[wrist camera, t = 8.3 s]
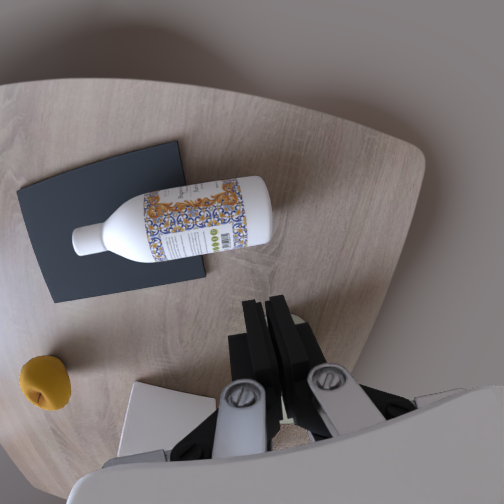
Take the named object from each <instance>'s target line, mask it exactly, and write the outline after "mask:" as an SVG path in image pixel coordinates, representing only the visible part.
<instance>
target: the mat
mask: <svg viewBox="0 0 504 504" xmlns="http://www.w3.org/2000/svg"><path fill="white" fill-rule="evenodd" d="M182 186H186V182H185V177H184V172H183V167H182V162H181V157H180V151H179V146H178V141H174V142H170V143H165V144H161V145H157V146H153V147H149V148H145V149H141V150H137V151H134V152H130V153H126V154H123V155H119V156H116V157H112V158H109V159H105V160H102V161H99V162H95V163H92V164H89V165H86V166H83V167H80V168H77V169H74V170H71V171H68V172H65V173H62V174H60V175H57V176H54V177H51V178H49V179H46V180H43V181H41V182H38V183H35V184H33V185H30V186H28V187H25V188H23V189H20V190H18V191H17V196H18V200H19V203H20V207H21V211H22V214H23V218H24V221H25V225H26V228H27V231H28V234H29V238H30V241H31V244H32V247H33V250H34V252H35V255H36V258H37V261H38V264H39V266H40V269H41V272H42V274H43V277H44V279H45V282H46V284H47V287H48V289H49V291H50V294H51V296H52V298H53V301H54V303H59V302H65V301H71V300H77V299H83V298H89V297H95V296H101V295H107V294H113V293H119V292H125V291H130V290H136V289H142V288H148V287H153V286H159V285H165V284H170V283H176V282H182V281H187V280H193V279H198V278H204V277H206V273H205V268H204V264H203V260H202V256H201V255H196V256H190V257H184V258H178V259H173V260H167V261H161V262H149V263H148V262H138V261H134V260H130V259H128V258H125V257H123V256H121V255H119V254H116V253H114V252H112V251H110V250H107V251H103V252H98V253H93V254H88V255H83V256H79V255H78V254H77V253H76V252H75V250H74V247H73V242H72V235H73V231H74V230H75V229H76V228H80V227H84V226H89V225H93V224H98V223H104V222H105V221H106V220H107V219H108V218H109V217H110V216H111V215H112V214H113V213H114V212H115V211H116V210H117V209H118V208H119V207H120V206H121V205H123V204H124V203H125V202H127V201H128V200H130V199H132V198H134V197H136V196H139V195H142V194H145V193H149V192H154V191H160V190H165V189H171V188H176V187H182Z"/></svg>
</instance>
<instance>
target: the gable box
mask: <svg viewBox="0 0 504 504" xmlns="http://www.w3.org/2000/svg"><path fill="white" fill-rule="evenodd" d="M215 410H216V400H215V398H209V397H204V396H198V395H193V394H188V393H183V392H179V391H174V390H170V389H165V388H161V387H157V386H153V385H149V384H145V383H141V382H137V381H136V382H133V386H132V390H131V394H130V399H129V403H128V407H127V411H126V416H125V420H124V425H123V430H122V434H121V439H120V444H119V449H118V454H117V457H123V456H129V455H135V454H140V453H145V452H150V451H155V450H160V449H164V450H165V451H168V450H172V449H173V447H174V446H175V445H176V444H177V443H178V442H180V441H181V440H182V439H183V438H184V437H186V436H187V435H188V434H189V433H190V432H191V431H193V430H194V429H195V428H196V427H197V426H198V425H200V424H201V423H202V422H203V421H204V420H205V419H206V418H208V417H209V416H210V415H211V414H212V413H213V412H214V411H215Z"/></svg>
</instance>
